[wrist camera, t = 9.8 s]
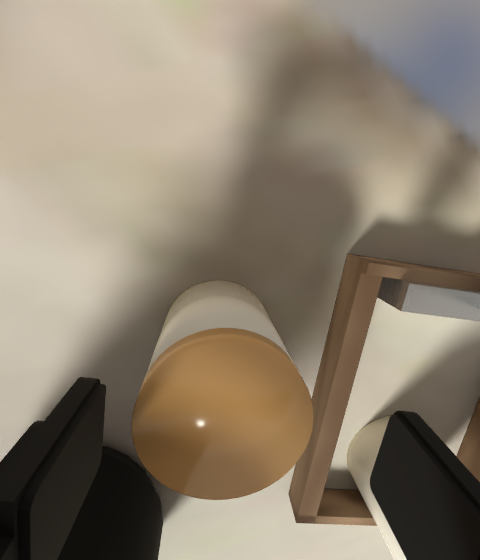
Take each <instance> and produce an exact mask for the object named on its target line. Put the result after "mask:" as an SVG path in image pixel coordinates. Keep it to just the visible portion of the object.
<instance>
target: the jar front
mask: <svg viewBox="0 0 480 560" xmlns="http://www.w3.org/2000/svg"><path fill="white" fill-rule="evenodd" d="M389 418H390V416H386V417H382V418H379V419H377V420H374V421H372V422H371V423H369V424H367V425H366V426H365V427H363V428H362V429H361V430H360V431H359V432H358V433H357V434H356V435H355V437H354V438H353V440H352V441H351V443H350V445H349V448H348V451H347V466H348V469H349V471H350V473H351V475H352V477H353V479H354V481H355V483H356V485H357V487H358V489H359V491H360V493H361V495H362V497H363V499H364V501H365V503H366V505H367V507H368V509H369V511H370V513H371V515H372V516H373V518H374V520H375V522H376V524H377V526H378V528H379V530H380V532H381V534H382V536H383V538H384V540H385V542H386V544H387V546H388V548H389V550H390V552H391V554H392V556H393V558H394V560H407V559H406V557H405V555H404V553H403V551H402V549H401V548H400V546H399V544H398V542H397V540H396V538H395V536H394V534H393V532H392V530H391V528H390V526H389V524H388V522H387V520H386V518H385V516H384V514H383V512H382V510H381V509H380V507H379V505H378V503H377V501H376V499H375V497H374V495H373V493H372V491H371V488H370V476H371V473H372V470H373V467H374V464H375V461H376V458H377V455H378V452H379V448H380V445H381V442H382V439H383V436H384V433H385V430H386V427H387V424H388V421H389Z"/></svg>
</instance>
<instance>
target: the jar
mask: <svg viewBox="0 0 480 560" xmlns="http://www.w3.org/2000/svg"><path fill="white" fill-rule="evenodd" d="M312 427H313V405H312V400H311V396H310V394H309V391H308V388H307V386H306V385H305V383H304V381H303V379H302V377H301V375H300V373H299V372H298V370H297V368H296V366H295V364H294V362H293V360H292V359H291V357H290V355H289V353H288V351H287V349H286V348H285V346H284V344H283V342H282V340H281V338H280V336H279V335H278V333H277V331H276V329H275V327H274V325H273V324H272V322H271V320H270V318H269V316H268V314H267V312H266V311H265V309H264V307H263V305H262V303H261V302H260V301H259V299H258V298H257V297H256V296H255V295H254V294H253V293H252V292H251V291H249V290H248V289H246V288H245V287H243V286H241V285H238V284H236V283H233V282H229V281H218V280H215V281H207V282H203V283H200V284H197V285H195V286H193V287H191V288H189V289H188V290H186V291H185V292H183V293H182V294H181V295H180V296H179V297H178V298H177V299H176V300H175V302H174V303H173V305H172V306H171V308H170V310H169V312H168V314H167V317H166V320H165V323H164V325H163V328H162V331H161V334H160V337H159V339H158V342H157V345H156V348H155V350H154V353H153V356H152V359H151V362H150V364H149V367H148V370H147V373H146V376H145V378H144V381H143V384H142V387H141V389H140V392H139V395H138V398H137V401H136V403H135V407H134V411H133V416H132V438H133V443H134V446H135V449H136V452H137V454H138V456H139V458H140V460H141V462H142V463H143V465H144V466H145V467H146V469H147V470H148V471H149V472H150V473H151V474H152V475H153V476H154V477H155V478H156V479H157V480H158V481H160V482H161V483H162V484H164V485H165V486H167V487H169V488H170V489H172V490H174V491H176V492H179V493H181V494H184V495H187V496H191V497H194V498H200V499H209V500H223V499H232V498H238V497H242V496H246V495H250V494H252V493H255V492H257V491H260V490H262V489H264V488H266V487H268V486H270V485H271V484H273V483H274V482H276V481H277V480H279V479H280V478H281V477H283V476H284V475H285V474H286V473H287V472H288V471H289V470H290V469H291V468H292V467H293V466H294V465H295V464H296V462H297V461H298V460H299V458H300V457H301V455H302V454H303V452H304V450H305V449H306V446H307V444H308V442H309V439H310V436H311V432H312Z"/></svg>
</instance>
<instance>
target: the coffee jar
mask: <svg viewBox="0 0 480 560" xmlns="http://www.w3.org/2000/svg"><path fill="white" fill-rule="evenodd" d="M162 527H163V519H162V510H161V502H160V498H159V496H158V494H157V492H156V490H155V488H154V487H153V485H152V483H151V481H150V479H149V478H148V476H147V474H146V472H145V471H144V470H143V469H142V468H141V467H140V466H139V465H138V464H137V463H135V462H134V461H133V460H132V459H131V458H130V457H129V456H126V455H124V454H122V453H120V452H118V451H115V450H113V449H111V448H109V447H105V446H102V457H101V462H100V466H99V468H98V471H97V473H96V475H95V478H94V480H93V482H92V484H91V486H90V489H89V491H88V493H87V495H86V497H85V500H84V502H83V504H82V506H81V508H80V511H79V513H78V515H77V517H76V519H75V522H74V524H73V526H72V528H71V530H70V533H69V535H68V537H67V539H66V541H65V544H64V546H63V548H62V550H61V552H60V555H59V557H58V559H57V560H158V554H159V547H160V540H161V533H162Z"/></svg>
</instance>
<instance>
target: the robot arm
mask: <svg viewBox="0 0 480 560" xmlns="http://www.w3.org/2000/svg"><path fill="white" fill-rule="evenodd" d="M105 395H106V386H105V385H104V384H100V380H99V379H94V378H85V377H80V378H78V379H77V381H76V382H75V383H74V384H73V386H72V387H71V388H70V389H69V391H68V392H67V393H66V395H65V396H64V397H63V398H62V400H61V401H60V402H59V403H58V405H57V406H56V407H55V408H54V410H53V411H52V412H51V413H50V415H49V416H48V417H47V418H46V420H45V421H36V422H34V423H33V424H32V425H31V426H30V427H29V428H28V430H27V431H26V432H25V433H24V434H23V436H22V437H21V438H20V439H19V440H18V442H17V443H16V444H15V445H14V446H13V448H12V449H11V450H10V451H9V452H8V454H7V455H6V456H5V457H4V458H3V460H2V461H1V462H0V560H57V559H58V557H59V555H60V552H61V550H62V548H63V546H64V544H65V541H66V539H67V537H68V535H69V533H70V530H71V528H72V526H73V524H74V522H75V519H76V517H77V515H78V513H79V511H80V508H81V506H82V504H83V502H84V500H85V497H86V495H87V493H88V491H89V489H90V486H91V484H92V482H93V480H94V478H95V475H96V473H97V471H98V468H99V466H100V462H101V457H102V443H103V427H104V411H105ZM370 488H371V491H372V493H373V495H374V497H375V499H376V501H377V503H378V505H379V507H380V509H381V510H382V512H383V514H384V516H385V518H386V520H387V522H388V524H389V526H390V528H391V530H392V532H393V534H394V536H395V538H396V540H397V542H398V544H399V546H400V548H401V549H402V551H403V553H404V555H405V557H406V559H407V560H480V482H479V481H478V480H477V479H476V478H475V477H474V475H473V474H472V473H471V472H470V471H469V470H468V469H467V468H466V467H465V466H464V464H463V463H462V462H461V461H460V460H459V459H458V458H457V457H456V456H455V455H454V453H453V452H452V451H451V450H450V449H449V448H448V447H447V446H446V445H445V444H444V442H443V441H442V440H441V439H440V438H439V437H438V436H437V435H436V434H435V433H434V431H433V430H432V429H431V428H430V427H429V426H428V425H427V424H426V423H425V422H424V420H423V419H422V418H421V417H420V416H419V415H418V414H417V413H414V412H407V411H396V412H395V413H394V415H391V416H390V418H389V421H388V424H387V427H386V430H385V433H384V436H383V439H382V442H381V445H380V448H379V452H378V455H377V458H376V461H375V464H374V467H373V470H372V473H371V476H370Z"/></svg>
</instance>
